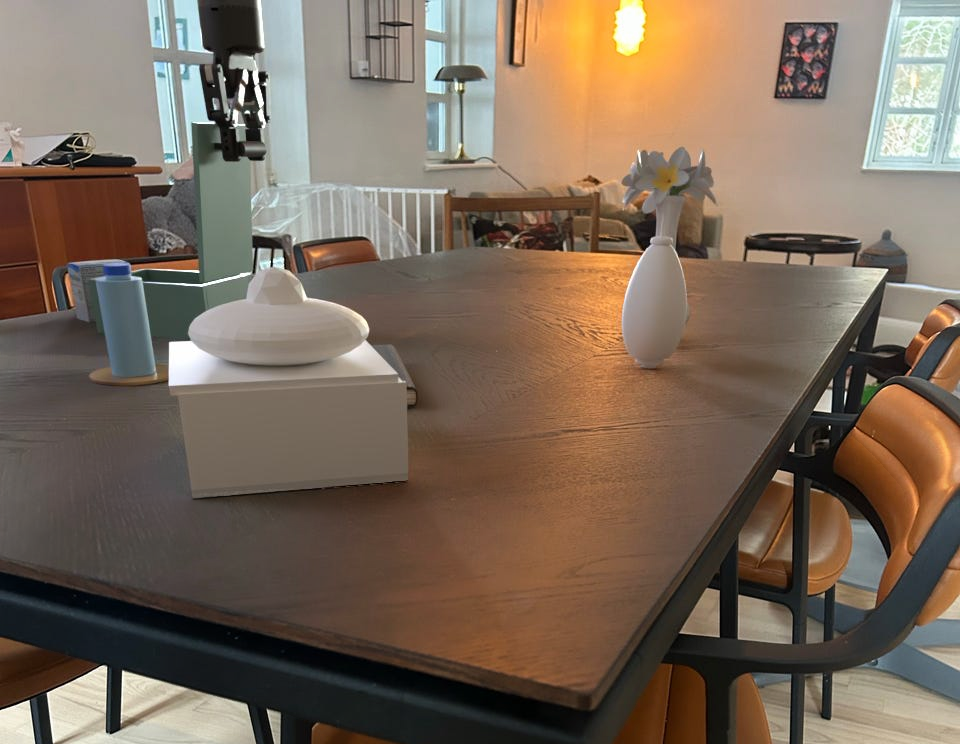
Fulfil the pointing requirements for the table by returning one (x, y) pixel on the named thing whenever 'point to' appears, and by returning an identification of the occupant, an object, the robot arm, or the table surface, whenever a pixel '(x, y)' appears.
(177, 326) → the cool box
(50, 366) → the table surface
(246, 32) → the robot arm
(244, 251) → the lid
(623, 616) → the table surface
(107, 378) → the coaster
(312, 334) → the white knob-topped box
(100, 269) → the medicine box
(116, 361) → the water bottle
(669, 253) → the white teardrop bottle
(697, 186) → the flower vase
